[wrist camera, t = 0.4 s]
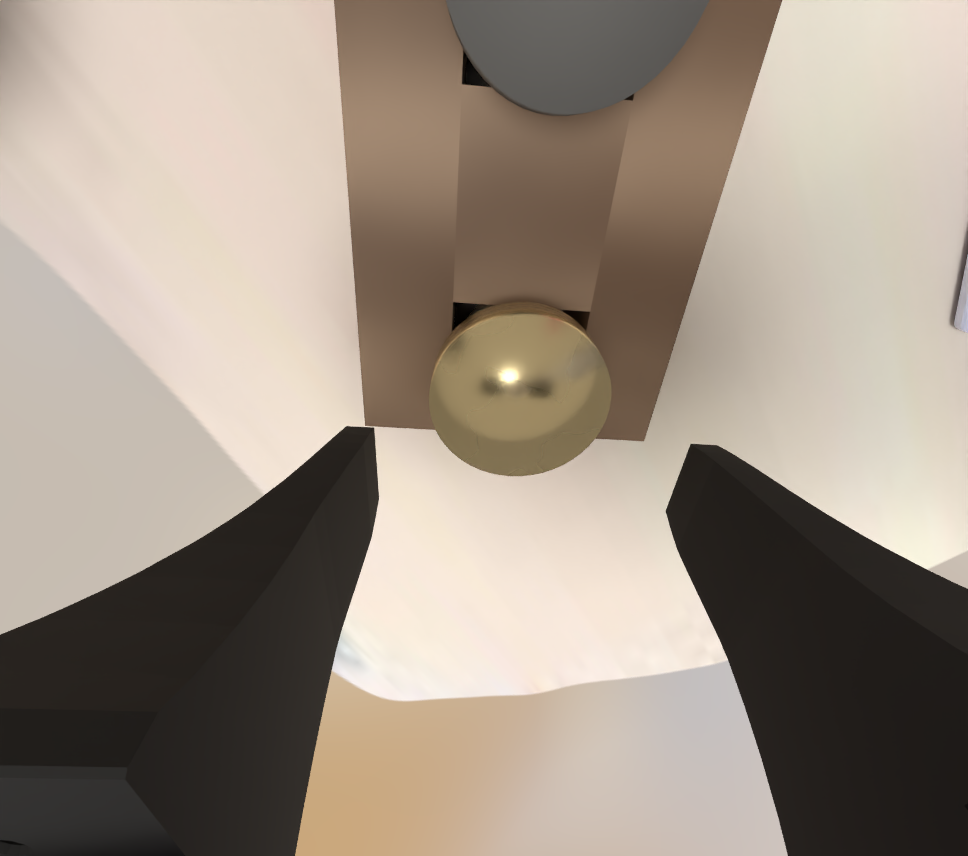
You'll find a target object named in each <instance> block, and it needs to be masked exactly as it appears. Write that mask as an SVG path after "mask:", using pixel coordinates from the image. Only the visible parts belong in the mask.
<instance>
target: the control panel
mask: <svg viewBox="0 0 968 856" xmlns="http://www.w3.org/2000/svg"><path fill="white" fill-rule="evenodd" d="M781 2H782V0H709V2H708V4H707V6H706V8H705V10H704V12H703V14H702V16H701V18H700V20H699V22H698V24H697V25H696V27H695V29H694V30H693V32H692V33H691V35H690V36H689V38H688V40H687V41H686V43H685V44H684V45H683V47H682V48H681V49H680V51H679V52H678V53H677V54H676V56H675V57H674V58H673V59H672V61H671V62H670V63H669V64H668V65H667V66H666V67H665V68H664V69H663V70H662V71H661V72H660V73H659V74H658V75H657V76H656V77H655V78H654V79H653V80H651V81H650V82H649V83H648V84H646V85H645V86H644V87H643V88H642V89H640V90H639V91H637V92H635V93H634V94H632V95H631V96H629V97H628V98H626V99H624V100H622V101H620V102H618V103H615V104H613V105H611V106H609V107H606V108H602V109H599V110H596V111H593V112H588V113H583V114H576V115H569V116H550V115H544V114H538V113H535V112H532V111H529V110H526V109H523V108H521V107H519V106H517V105H515V104H513V103H512V102H510V101H508V100H507V99H505V98H504V97H503V96H501V95H500V94H499V93H497V92H496V91H495V90H494V89H493V88H492V87H484V86H474V85H465V84H466V61H467V55H466V53H465V52H464V50H463V48H462V46H461V44H460V41H459V39H458V37H457V35H456V33H455V30H454V27H453V24H452V21H451V18H450V15H449V12H448V7H447V3H446V0H334V4H335V18H336V32H337V46H338V59H339V73H340V87H341V101H342V114H343V128H344V142H345V156H346V169H347V183H348V197H349V211H350V224H351V238H352V252H353V265H354V279H355V293H356V307H357V320H358V334H359V348H360V362H361V375H362V389H363V403H364V417H365V426H378V427H396V428H414V429H432V430H435V427H434V424H433V422H432V419H431V414H430V409H429V392H430V385H431V379H432V374H433V369H434V365H435V360H436V358H437V355H438V353H439V350H440V348H441V347H442V345H443V343H444V342H445V340H446V339H447V337H448V336H449V335H450V334H451V332H452V331H453V330H454V329H455V313H456V302H458V303H473V304H487V305H499V304H502V303H510V302H532V303H540V304H543V305H547V306H550V307H553V308H555V309H558V310H563V311H562V312H564V313H565V314H567V315H569V316H570V317H572V318H573V319H574V320H575V321H577V322H578V323H579V324H580V325H581V326H582V327H583V328H584V329H585V330H586V331H587V333H588V334H589V336H590V337H591V339H592V340H593V342H594V344H595V345H596V347H597V349H598V351H599V352H600V354H601V356H602V358H603V360H604V362H605V364H606V366H607V369H608V372H609V376H610V380H611V388H612V391H611V403H610V409H609V412H608V415H607V418H606V421H605V423H604V425H603V427H602V429H601V431H600V432H599V434H598V435H597V437H596V439H614V440H632V441H644V439H645V436H646V433H647V430H648V427H649V423H650V420H651V417H652V414H653V411H654V407H655V404H656V401H657V398H658V395H659V391H660V388H661V385H662V382H663V379H664V376H665V372H666V369H667V366H668V363H669V360H670V356H671V353H672V350H673V347H674V344H675V340H676V337H677V334H678V331H679V328H680V324H681V321H682V318H683V315H684V312H685V309H686V305H687V302H688V299H689V296H690V293H691V289H692V286H693V283H694V280H695V277H696V273H697V270H698V267H699V264H700V261H701V257H702V254H703V251H704V248H705V245H706V242H707V238H708V235H709V232H710V229H711V226H712V222H713V219H714V216H715V213H716V210H717V206H718V203H719V200H720V197H721V194H722V191H723V187H724V184H725V181H726V178H727V175H728V171H729V168H730V165H731V162H732V159H733V155H734V152H735V149H736V146H737V143H738V139H739V136H740V133H741V130H742V127H743V124H744V120H745V117H746V114H747V111H748V108H749V104H750V101H751V98H752V95H753V92H754V88H755V85H756V82H757V79H758V76H759V73H760V69H761V66H762V63H763V60H764V57H765V53H766V50H767V47H768V44H769V41H770V37H771V34H772V31H773V28H774V25H775V21H776V18H777V15H778V12H779V9H780V6H781Z"/></svg>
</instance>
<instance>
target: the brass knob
mask: <svg viewBox="0 0 968 856" xmlns="http://www.w3.org/2000/svg"><path fill="white" fill-rule="evenodd" d="M611 391H612V388H611V380H610V376H609V372H608V369H607V366H606V364H605V362H604V360H603V358H602V356H601V354H600V352H599V351H598V349H597V347H596V345H595V344H594V342H593V340H592V339H591V337H590V336H589V334H588V333H587V331H586V330H585V329H584V328H583V327H582V326H581V325H580V324H579V323H578V322H577V321H575V320H574V319H573V318H572V317H570V316H569V315H567V314H565V313H564V312H562V311H560V310H558V309H555V308H553V307H550V306H547V305H543V304H540V303H532V302H510V303H502V304H499V305H487V304H479V305H478V306H477V307H476V308H475V309H474V310H473V311H472V312H471V313H470V315H469V316H468V318H467V319H466V320H464V321H463V322H462V323H460V324H459V325H458V326H457V327H456V328H455V329H454V330H453V331H452V332H451V334H450V335H449V336H448V337H447V339H446V340H445V342H444V343H443V345H442V347H441V348H440V350H439V353H438V355H437V358H436V360H435V365H434V369H433V374H432V379H431V385H430V392H429V409H430V414H431V419H432V422H433V424H434V427H435V430H436V431H437V433H438V435H439V437H440V439H441V440H442V441H443V443H444V444H445V445H446V446H447V447H448V449H449V450H450V451H451V452H452V453H453V454H455V455H456V456H457V457H458V458H460V459H461V460H463V461H464V462H466V463H467V464H469V465H471V466H473V467H475V468H477V469H480V470H483V471H486V472H489V473H493V474H498V475H505V476H526V475H534V474H539V473H543V472H546V471H549V470H552V469H555V468H557V467H559V466H562V465H564V464H565V463H567V462H569V461H571V460H572V459H574V458H575V457H576V456H578V455H579V454H581V453H582V452H583V451H584V450H585V449H586V448H587V447H588V446H589V445H590V444H591V443H592V442H593V440H594V439H595V438H596V437H597V435H598V434H599V432H600V431H601V429H602V427H603V425H604V423H605V421H606V418H607V415H608V412H609V409H610V403H611Z"/></svg>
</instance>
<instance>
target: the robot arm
mask: <svg viewBox="0 0 968 856" xmlns="http://www.w3.org/2000/svg"><path fill="white" fill-rule="evenodd" d="M954 325H955V327H956V328H957V329H959V330H961V331H964V332H967V333H968V256H967V261H966V266H965V271H964V276H963V281H962V286H961V291H960V296H959V301H958V306H957V311H956V316H955V321H954ZM378 501H379V492H378V478H377V463H376V448H375V434H374V428H370V427H350V426H346V427H345V428H344V429H343V430H342V431H340V432H339V433H338V434H337V435H336V436H335V437H333V438H332V439H331V440H330V441H329V442H328V443H327V444H326V445H324V446H323V447H322V448H321V449H320V450H319V451H318V452H317V453H315V454H314V455H313V456H312V457H311V458H310V459H309V460H307V461H306V462H305V463H304V464H303V465H302V466H300V467H299V468H298V469H297V470H296V471H294V472H293V473H292V474H291V475H290V476H289V477H287V478H286V479H285V480H284V481H282V482H281V483H280V484H278V485H277V486H276V487H275V488H273V489H272V490H271V491H269V492H268V493H267V494H265V495H264V496H263V497H261V498H260V499H259V500H258V501H256V502H255V503H254V504H252V505H251V506H249V507H248V508H247V509H245V510H244V511H242V512H241V513H239V514H238V515H236V516H235V517H233V518H232V519H230V520H229V521H227V522H226V523H224V524H223V525H221V526H220V527H218V528H216V529H215V530H213V531H212V532H210V533H208V534H207V535H205V536H204V537H202V538H200V539H199V540H197V541H195V542H194V543H192V544H190V545H188V546H186V547H184V548H183V549H181V550H179V551H177V552H175V553H173V554H172V555H170V556H168V557H167V558H164V559H163V560H161V561H159V562H157V563H155V564H153V565H152V566H150V567H148V568H146V569H145V570H143V571H141V572H139V573H137V574H135V575H133V576H131V577H129V578H127V579H125V580H123V581H121V582H119V583H117V584H115V585H112V586H110V587H109V588H106V589H104V590H102V591H100V592H98V593H96V594H94V595H91V596H90V597H87V598H85V599H83V600H81V601H79V602H77V603H74V604H72V605H70V606H68V607H65V608H63V609H61V610H59V611H56V612H54V613H52V614H49V615H47V616H45V617H43V618H40V619H38V620H35V621H33V622H30V623H28V624H25V625H23V626H21V627H18V628H16V629H13V630H11V631H8V632H6V633H3V634H1V635H0V856H295V852H296V847H297V841H298V835H299V830H300V823H301V818H302V813H303V807H304V802H305V797H306V792H307V786H308V782H309V777H310V771H311V766H312V761H313V756H314V751H315V746H316V741H317V736H318V731H319V726H320V721H321V717H322V712H323V707H324V702H325V698H326V693H327V688H328V683H329V679H330V675H331V670H332V666H333V661H334V657H335V652H336V648H337V644H338V641H339V637H340V634H341V630H342V627H343V624H344V621H345V618H346V615H347V611H348V608H349V605H350V602H351V599H352V596H353V593H354V590H355V587H356V584H357V581H358V578H359V575H360V572H361V569H362V566H363V563H364V559H365V556H366V553H367V550H368V547H369V544H370V541H371V537H372V532H373V527H374V522H375V517H376V512H377V506H378ZM666 514H667V517H668V521H669V524H670V528H671V531H672V535H673V538H674V541H675V544H676V547H677V550H678V552H679V554H680V557H681V559H682V561H683V563H684V565H685V568H686V570H687V572H688V574H689V576H690V578H691V580H692V583H693V585H694V587H695V589H696V591H697V593H698V595H699V597H700V599H701V601H702V604H703V606H704V608H705V610H706V612H707V614H708V616H709V618H710V620H711V623H712V625H713V627H714V629H715V631H716V633H717V635H718V637H719V639H720V642H721V644H722V646H723V649H724V651H725V654H726V656H727V658H728V661H729V663H730V666H731V669H732V672H733V674H734V677H735V680H736V683H737V686H738V689H739V692H740V694H741V697H742V700H743V703H744V705H745V709H746V712H747V715H748V718H749V721H750V724H751V727H752V730H753V734H754V737H755V740H756V743H757V746H758V749H759V752H760V755H761V758H762V762H763V765H764V769H765V772H766V776H767V779H768V783H769V786H770V790H771V793H772V797H773V800H774V804H775V807H776V811H777V814H778V817H779V821H780V826H781V830H782V834H783V838H784V842H785V845H786V849H787V853H788V856H968V589H966V588H964V587H962V586H960V585H958V584H956V583H953V582H951V581H949V580H947V579H945V578H943V577H941V576H939V575H936V574H935V573H933V572H931V571H929V570H927V569H925V568H923V567H921V566H919V565H917V564H915V563H913V562H911V561H909V560H907V559H905V558H903V557H902V556H900V555H898V554H896V553H894V552H892V551H890V550H888V549H886V548H884V547H882V546H881V545H879V544H877V543H875V542H873V541H872V540H870V539H868V538H866V537H864V536H863V535H861V534H859V533H858V532H856V531H854V530H852V529H851V528H849V527H847V526H846V525H844V524H842V523H841V522H839V521H837V520H836V519H834V518H832V517H831V516H829V515H827V514H826V513H824V512H822V511H821V510H819V509H818V508H816V507H814V506H813V505H811V504H810V503H808V502H806V501H805V500H803V499H802V498H800V497H799V496H797V495H796V494H794V493H792V492H791V491H789V490H788V489H786V488H785V487H783V486H782V485H780V484H779V483H777V482H776V481H774V480H773V479H771V478H769V477H768V476H766V475H765V474H763V473H762V472H760V471H759V470H757V469H756V468H754V467H753V466H751V465H750V464H748V463H746V462H745V461H743V460H742V459H740V458H738V457H737V456H735V455H733V454H732V453H730V452H728V451H727V450H725V449H723V448H721V447H719V446H717V445H701V444H691V445H690V447H689V450H688V453H687V455H686V458H685V461H684V463H683V466H682V469H681V471H680V474H679V477H678V480H677V482H676V485H675V488H674V490H673V493H672V496H671V498H670V501H669V504H668V506H667V509H666Z"/></svg>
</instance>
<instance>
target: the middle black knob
mask: <svg viewBox="0 0 968 856" xmlns="http://www.w3.org/2000/svg"><path fill="white" fill-rule="evenodd" d="M708 2H709V0H446V3H447V7H448V12H449V15H450V18H451V21H452V24H453V27H454V30H455V33H456V35H457V37H458V39H459V41H460V44H461V46H462V48H463V50H464V52H465V53H466V55H467V57H468V58H469V60H470V62H471V63H472V65H473V66H474V68H475V69H476V70H477V72H478V73H479V74H480V75H481V77H482V78H483V79H484V80H485V81H486V82H487V83H488V84H489V85H490V86H491V87H492V88H493V89H494V90H495V91H496V92H497V93H499V94H500V95H501V96H503V97H504V98H505V99H507V100H508V101H510V102H512V103H513V104H515V105H517V106H519V107H521V108H523V109H526V110H529V111H532V112H535V113H538V114H544V115H550V116H569V115H576V114H583V113H588V112H593V111H596V110H599V109H602V108H606V107H609V106H611V105H613V104H615V103H618V102H620V101H622V100H624V99H626V98H628V97H629V96H631V95H632V94H634V93H635V92H637V91H639V90H640V89H642V88H643V87H644V86H645V85H646V84H648V83H649V82H650V81H651V80H653V79H654V78H655V77H656V76H657V75H658V74H659V73H660V72H661V71H662V70H663V69H664V68H665V67H666V66H667V65H668V64H669V63H670V62H671V61H672V59H673V58H674V57H675V56H676V54H677V53H678V52H679V51H680V49H681V48H682V47H683V45H684V44H685V43H686V41H687V40H688V38H689V36H690V35H691V33H692V32H693V30H694V29H695V27H696V25H697V24H698V22H699V20H700V18H701V16H702V14H703V12H704V10H705V8H706V6H707V4H708Z"/></svg>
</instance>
